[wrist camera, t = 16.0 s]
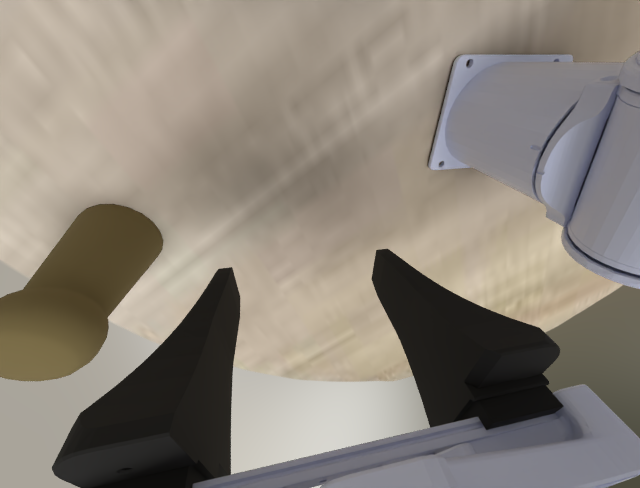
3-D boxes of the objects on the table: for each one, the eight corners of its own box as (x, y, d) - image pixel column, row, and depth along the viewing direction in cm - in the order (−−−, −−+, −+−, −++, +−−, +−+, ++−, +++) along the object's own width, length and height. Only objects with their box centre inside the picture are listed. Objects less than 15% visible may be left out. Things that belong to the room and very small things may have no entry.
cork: (54, 225, 19) (-119, 362, 11) (121, 190, 19) (-3, 305, 10) (121, 275, 23) (35, 408, 14) (179, 247, 22) (126, 368, 14)
